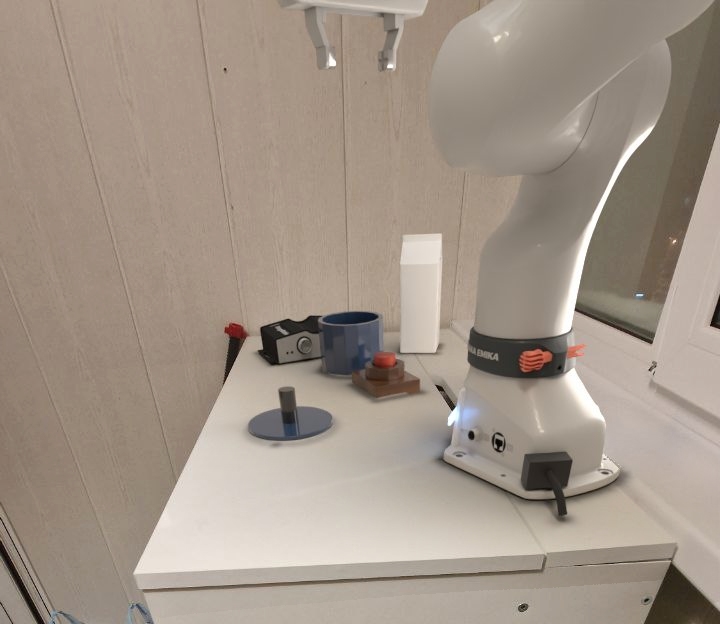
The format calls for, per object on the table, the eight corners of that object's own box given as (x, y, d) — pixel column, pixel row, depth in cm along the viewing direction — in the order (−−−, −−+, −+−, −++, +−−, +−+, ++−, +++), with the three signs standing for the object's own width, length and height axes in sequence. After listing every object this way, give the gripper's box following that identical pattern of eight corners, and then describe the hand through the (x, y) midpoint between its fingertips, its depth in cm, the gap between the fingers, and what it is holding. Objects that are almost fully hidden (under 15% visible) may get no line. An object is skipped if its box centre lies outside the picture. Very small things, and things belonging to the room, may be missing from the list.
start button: (399, 366, 92) (399, 355, 90) (379, 370, 91) (379, 358, 90) (389, 361, 94) (389, 350, 93) (370, 365, 93) (370, 353, 92)
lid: (346, 433, 80) (343, 393, 77) (262, 451, 77) (255, 410, 73) (316, 408, 89) (312, 370, 85) (240, 422, 86) (232, 384, 82)
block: (419, 392, 92) (420, 366, 90) (376, 401, 90) (375, 375, 88) (393, 377, 99) (392, 353, 97) (352, 385, 97) (351, 360, 95)
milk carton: (435, 353, 110) (440, 235, 97) (399, 353, 111) (399, 237, 98) (438, 344, 115) (443, 231, 102) (404, 344, 116) (405, 232, 104)
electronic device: (252, 323, 114) (343, 310, 119) (257, 352, 117) (344, 338, 122) (269, 336, 104) (366, 322, 109) (273, 367, 108) (368, 352, 113)
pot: (394, 371, 102) (393, 319, 97) (336, 382, 99) (332, 328, 93) (368, 356, 110) (366, 308, 105) (313, 366, 107) (309, 316, 101)
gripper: (284, -152, 51) (302, 64, 60) (440, -114, 60) (435, 68, 69) (249, -128, 54) (271, 72, 64) (401, -95, 64) (401, 75, 73)
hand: (358, 70), depth 66 cm, fingers open, 8 cm apart
